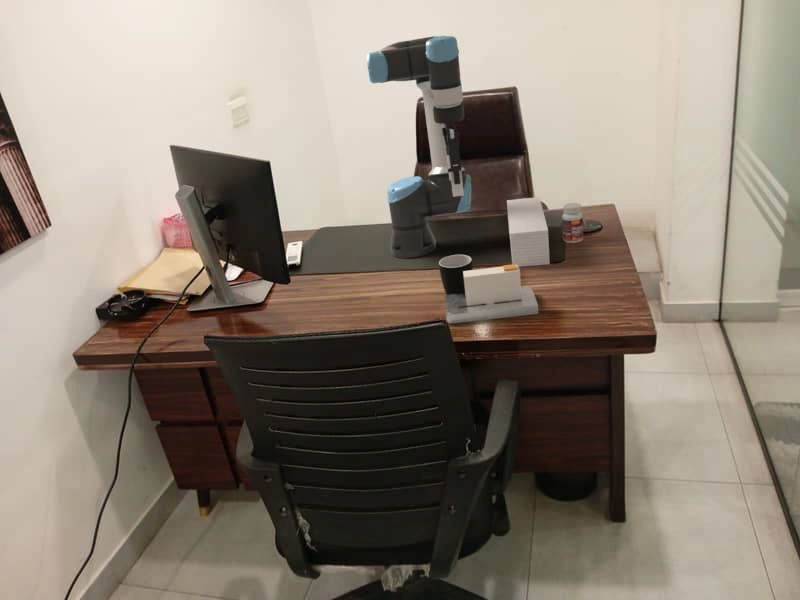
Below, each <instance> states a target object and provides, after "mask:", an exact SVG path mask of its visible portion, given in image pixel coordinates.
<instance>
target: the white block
mask: <svg viewBox="0 0 800 600" xmlns="http://www.w3.org/2000/svg"><path fill="white" fill-rule="evenodd" d="M463 275H464V284H465V294H466V302H467V306H466V307H474V306H482V305H485V304H487V303H494V304H496V303H495V302H501V303H508V302H517V301H520V300H521V299H522V295H521V286H522V285H521V284H522V282H521V270H520V267H518V265H516V264H504V265H502V266H496V267H489V268H488V267H487V268H477V269H473V270H469V271H463Z"/></svg>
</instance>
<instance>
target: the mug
mask: <svg viewBox="0 0 800 600" xmlns="http://www.w3.org/2000/svg"><path fill="white" fill-rule="evenodd" d="M438 267H439V274H440V279H441V282H442V286H443V289H444V292H445V295H452V294H460V293H465V284H464V275H463V271H469V270H474V268H473V258H472V257H471V256H469V255H466V254H453V255H449V256H444V257H442V258H441V259H440V260H439V262H438Z"/></svg>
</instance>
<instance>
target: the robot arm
mask: <svg viewBox="0 0 800 600" xmlns="http://www.w3.org/2000/svg"><path fill="white" fill-rule="evenodd" d="M458 46H459V45H458V41H457V38H456V37H455V36H453V35H447V36H446V35H433V36H427V37H421V38H416V39H410V40H402V41H397V42H395V43H392V44H390V45H387V46H385V47H382V48H381V49H379V50H376V51H373V52H369V53H368V54H367V55H366V64H367V71H368V77H369V81H370V83H372V84H384V83H389V82H410V81H415V84H416V87H417V88H419V89H420V91H421V92H422V98H423V106H424V114H425V123H426V128H427V138H428V143H429V145H428V146H429V151H430V152H429V153H430V160H431V167H432V168H431V170H430V171H429V173H428V179H427V180H424V179H423V178H422V177H421V176H418V175H417V176H408V177H404V178H400V179H398V180H397V181H394V182H393V183H391V184H390V185H389V186H388V188H387V203H388V207H389V213H390V214H389V215H390V218H391V219H390V220H391V226H392V231H391V238H390V246H389V249H390V254H391V256H394V257H396V258H401V259H410V258H411V259H412V258H417V257H418V258H419V257H422V256H425V255H429V254H430V253H432V252H433V251H435V250H436V249H437V242H436V241H437V240H436V238H435V236H434V234H433V231H432V230H431V229H430V228H431V227H430V226H429V222H428V218H433V217H439V216H447V215H448V216H449V215H457V214H460V213H465V212H467V211H469V209H470V208H471V202H472V182H471V181H472V179H471V175H470V174H468V173H466V169H465V168H464V167H462V164H461V163H462V162H461V157H460V155H461V154H460V147H459V146H460V137H459V136H460V130H459V127H458V125H456V123H457V122H461V121H463V120H464V118H465V108H464V103H462V102H463V101H464V96H463V87H462V85H463V84H462V80H461V70H460V57H459V55H460V54H459V53H460V49H459V47H458Z"/></svg>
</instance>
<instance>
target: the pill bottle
mask: <svg viewBox="0 0 800 600" xmlns="http://www.w3.org/2000/svg"><path fill="white" fill-rule="evenodd" d="M581 205H582V204H580V203H578V202H570V203H569V202H568V203H566V204H563V207H562V208H563V214H562V215H561V216H562V217H561V221H562V239H563V240H562V241H564V242H565V243H567V244H577V243H581V242H582V241H583V240H584V217H583V215H584V214H583V213H582V212H581V210H582V208H581V207H582V206H581Z"/></svg>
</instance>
